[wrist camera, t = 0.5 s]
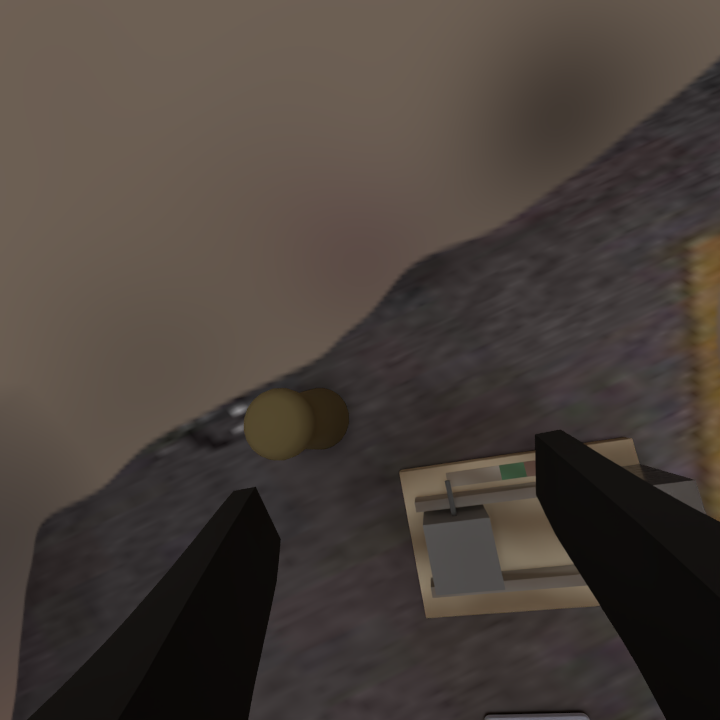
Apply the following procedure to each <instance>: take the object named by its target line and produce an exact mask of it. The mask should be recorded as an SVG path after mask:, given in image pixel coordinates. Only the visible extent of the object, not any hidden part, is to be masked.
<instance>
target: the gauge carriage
mask: <svg viewBox="0 0 720 720" xmlns="http://www.w3.org/2000/svg"><path fill="white" fill-rule="evenodd" d="M445 485H446V490H447V495H448V500H449V505H450V509H442V510H434V511H426V512H424V515H423V529H424V535H425V540H426V545H427V550H428V555H429V561H430V566H431V571H432V576H433V581H434V587H435V592H436V595H448V594H460V593H472V592H484V591H496V590H505V585H504V581H503V576H502V572H501V567H500V563H499V558H498V554H497V549H496V545H495V540H494V536H493V531H492V527H491V522H490V518H489V516H488V514H487V512H486V510H485V508H484V506H483V504H482V505H474V506H466V507H458V508H455V504H454V499H453V494H452V489H451V484H450V480H446V481H445Z"/></svg>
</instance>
